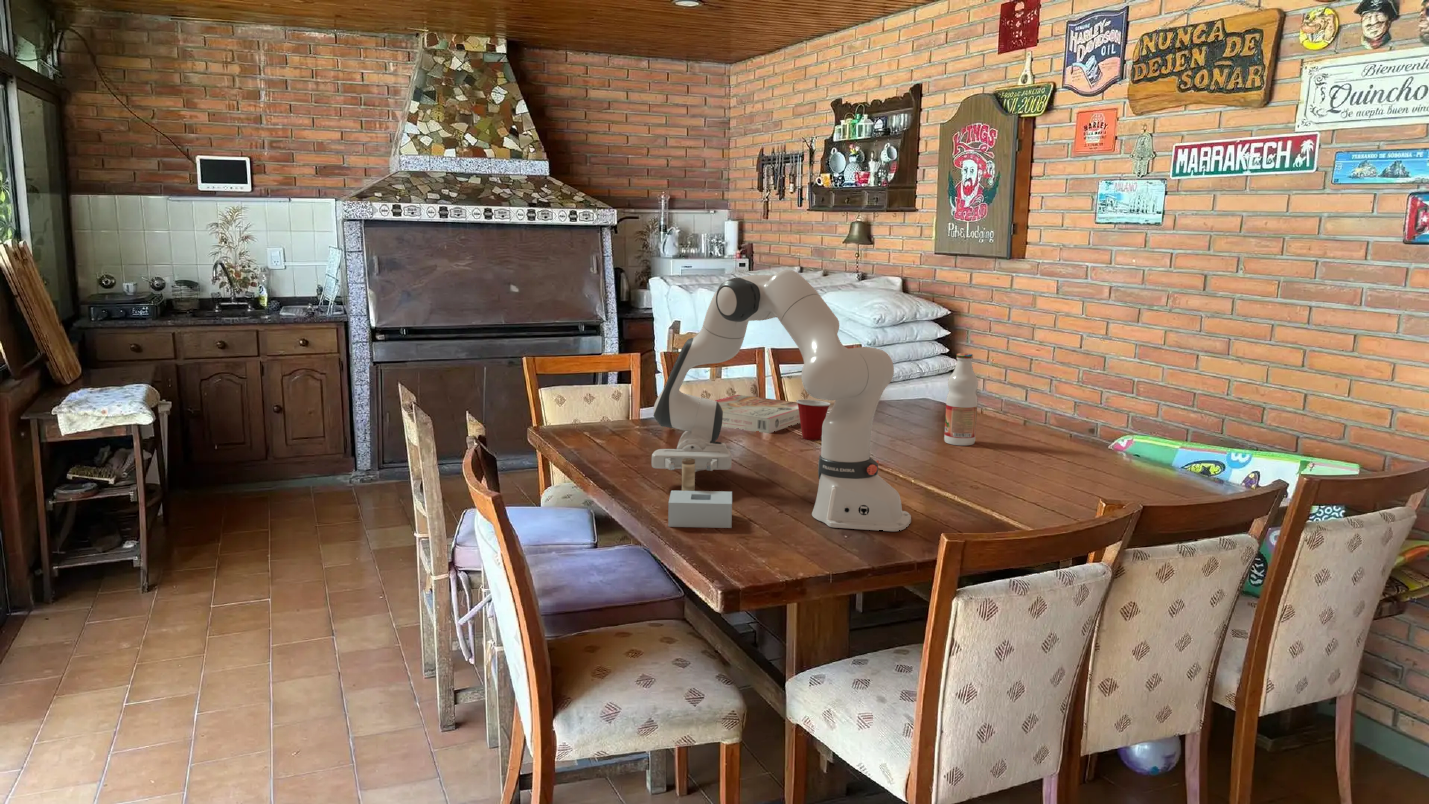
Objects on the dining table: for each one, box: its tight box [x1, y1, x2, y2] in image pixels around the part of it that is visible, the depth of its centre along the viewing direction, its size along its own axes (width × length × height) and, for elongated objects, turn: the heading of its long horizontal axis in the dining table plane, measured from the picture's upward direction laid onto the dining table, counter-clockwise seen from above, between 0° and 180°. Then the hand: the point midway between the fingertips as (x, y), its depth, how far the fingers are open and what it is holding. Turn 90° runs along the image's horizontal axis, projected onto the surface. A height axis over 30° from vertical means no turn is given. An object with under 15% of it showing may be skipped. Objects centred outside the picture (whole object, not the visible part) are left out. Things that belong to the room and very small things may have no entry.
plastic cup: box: [795, 399, 831, 441], centre depth 305 cm, size 11×11×12 cm
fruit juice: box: [943, 352, 979, 447], centre depth 300 cm, size 9×9×28 cm
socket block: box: [667, 490, 733, 529], centre depth 218 cm, size 14×10×6 cm
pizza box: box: [714, 394, 800, 434], centre depth 333 cm, size 32×5×32 cm
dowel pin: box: [681, 458, 696, 491], centre depth 226 cm, size 3×3×12 cm
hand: (690, 467), depth 237 cm, fingers open, 8 cm apart
